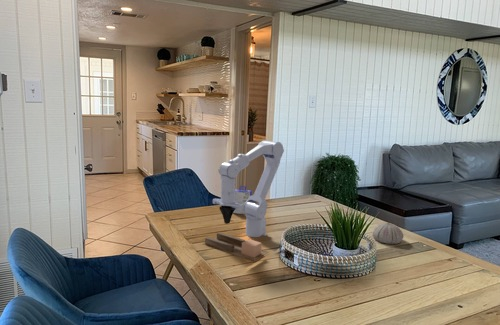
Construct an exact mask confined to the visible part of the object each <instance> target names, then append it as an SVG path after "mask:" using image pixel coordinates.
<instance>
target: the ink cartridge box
mask: <svg viewBox="0 0 500 325" xmlns="http://www.w3.org/2000/svg"><path fill="white" fill-rule="evenodd" d="M252 195H253V191H252V190H249V189H248V190H247V185H239V188H238V189H236V188H235V202H237V203H240V204H243V206H244V204H245V202H246V201H247V200H248V198H249V197H250V196H252ZM233 214H241V215H245V213H244V212H243V209H242V210H239V209H235V210H234V212H233Z"/></svg>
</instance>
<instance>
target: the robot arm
mask: <svg viewBox="0 0 500 325" xmlns="http://www.w3.org/2000/svg"><path fill="white" fill-rule="evenodd" d="M257 144H258V145H256V146H255V147H253V148H252V149H251V150H249V151H248V152H246V153H238V154H237V156H235V157H234V158H232V159H229V161H228V162H226V161H225V162H223V163H221V165H220V166H219V169H218V173H219V175H220V179H221V180H220V181H221V183H220V185H221V186H220V188H221V189H220V190H221V191H220V198H216V197H215V198H213V199H212V204H214V205H219V206H220V207H219V211H220V213H221V215H222V218H223V223H224V224H226V225H227V224H230V223H231V220H232V217H233V215H234V213H233V212H234V210H235V209H239V210H242V209H243V212H244V213H245V214H244V216H245V235H246V237H250V238H260V237H262V236H267V235H268V233H266V231H267V230H266V229H267V220H266V218H265V216H266V214H267V208H268V205H269V204H268V202H267V200H266V198H267V196H268V193H269V190H270V188H271V186H272V184H273V181H274V179H275V176H276V174H277V171H278V170H279V169H278V168H279V166H280V163H281V159H282V157H283V154H284V152H285V148H284V147H283V144H282V142H280V141H272V140H267V139H263V140H262V141H259V142H258V143H257ZM261 155H262V156H263V158H264V160H265V161H266V164H265V167H264V169H263V172H262V173H261V176H260V178H259V182H258V184H257V187H256V188H255V191H254V193H253V194H252V196H250V197H249V198H248V200H247V201H246V202H245V204H244V206H243V204H240V203H237V202H235V189H236V178H237V176H238V175H239V174H240V172H241V171H242V170H244V169H245V168H247V167H248V166H250V162H252V161H253V160H255V159H256V158H259V157H261Z"/></svg>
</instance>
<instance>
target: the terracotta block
mask: <svg viewBox="0 0 500 325" xmlns="http://www.w3.org/2000/svg"><path fill="white" fill-rule="evenodd" d="M262 244H263V243H262V242H260V241H258V240H254V239H252V238H251V239H250V238H248V239H247V240H246V239H245V241H244V242H242V254H245V255H248V256H251V257H256V256H258V255H259V254H261V250H262Z"/></svg>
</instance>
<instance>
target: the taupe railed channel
mask: <svg viewBox="0 0 500 325" xmlns="http://www.w3.org/2000/svg"><path fill="white" fill-rule="evenodd" d="M204 240H205V241H204V242H203V243H202V245H204V246H206V247H210V248H212V249H216V250H218V251H220V252H221V251H222V252H225V253H227V254H230V255H234V256H237V257H239V258H243V259H246V260H249V261H251V262H253V264H255V263H256V261H255V260H258V261H260V260H262V259H263V258H265V257H266V256H268V254H269V251H266V250H264V249H261V254H259V255H258V256H256V257H251V256H248V255H245V254H242V242H244V241H246V239H243V238H240V237H236V236H233V235H229V234H226V233H222V232H220V231H219V232H217V233H216V237H214V238H212V237H208V236H207V237H205V238H204ZM264 255H265V256H264Z"/></svg>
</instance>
